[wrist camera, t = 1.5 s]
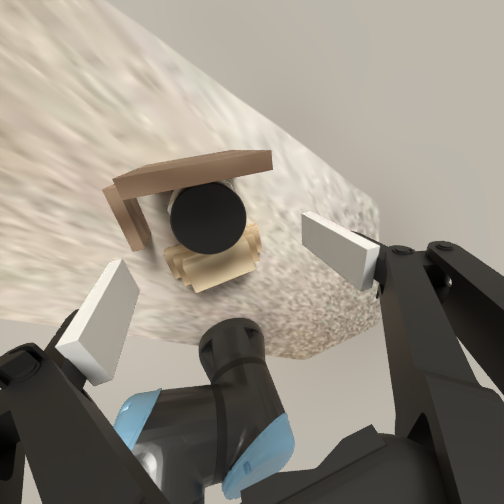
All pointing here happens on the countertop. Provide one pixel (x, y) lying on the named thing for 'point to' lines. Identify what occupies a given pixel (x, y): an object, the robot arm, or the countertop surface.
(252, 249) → the offcut mid
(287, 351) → the countertop surface
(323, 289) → the countertop surface
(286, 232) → the countertop surface
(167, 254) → the offcut long
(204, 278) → the offcut short
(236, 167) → the rack
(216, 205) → the jar
